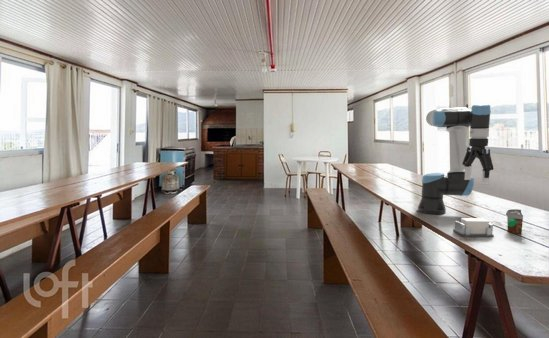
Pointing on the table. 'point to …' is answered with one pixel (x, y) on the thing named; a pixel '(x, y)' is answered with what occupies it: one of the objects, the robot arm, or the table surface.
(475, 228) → the cream rectangular block
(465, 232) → the mount
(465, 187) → the robot arm
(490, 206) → the table surface
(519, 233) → the food container
